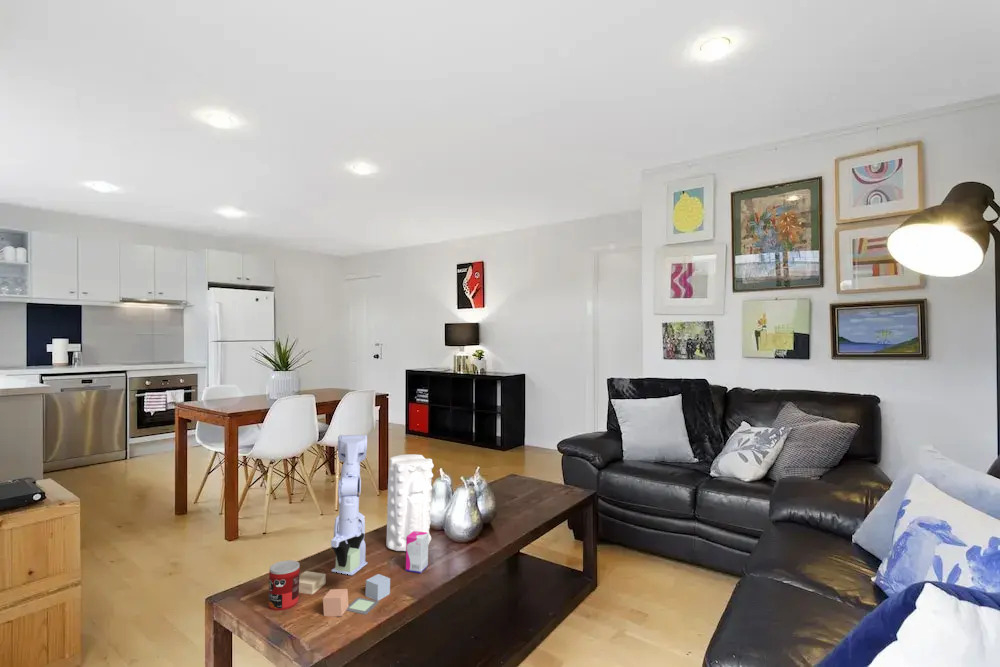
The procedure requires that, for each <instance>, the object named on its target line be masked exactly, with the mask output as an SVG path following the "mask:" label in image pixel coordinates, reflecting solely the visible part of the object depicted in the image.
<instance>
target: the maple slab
mask: <svg viewBox="0 0 1000 667" xmlns="http://www.w3.org/2000/svg"><path fill="white" fill-rule="evenodd" d="M326 576H327V574H326V573H323V572H315V571H309V570H305V571H303V572H302V573H301V574H300V575H299V594H300V593H301V594H308V595H313V594H315V593H316V592H317V591H318V590H320V589H321V588H322V587H323V586H325V584H326V582H327V581H326V580H327V579H326V578H327V577H326Z"/></svg>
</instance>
